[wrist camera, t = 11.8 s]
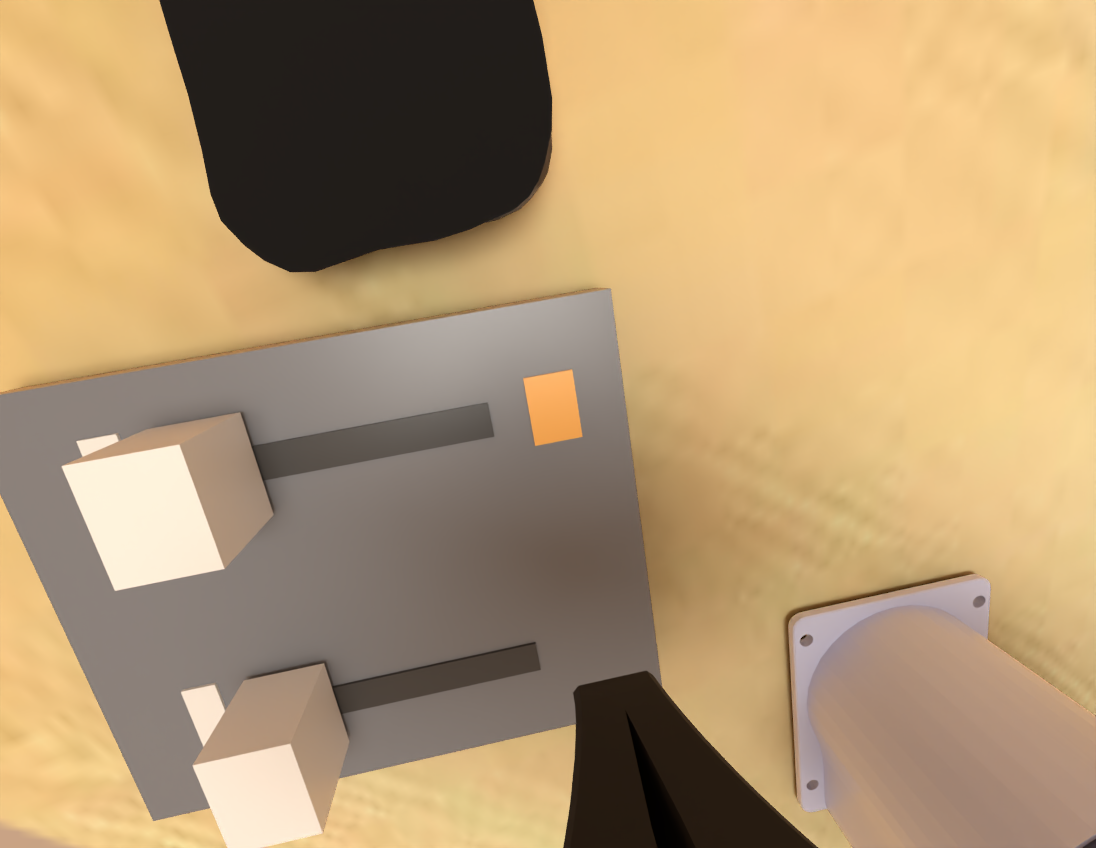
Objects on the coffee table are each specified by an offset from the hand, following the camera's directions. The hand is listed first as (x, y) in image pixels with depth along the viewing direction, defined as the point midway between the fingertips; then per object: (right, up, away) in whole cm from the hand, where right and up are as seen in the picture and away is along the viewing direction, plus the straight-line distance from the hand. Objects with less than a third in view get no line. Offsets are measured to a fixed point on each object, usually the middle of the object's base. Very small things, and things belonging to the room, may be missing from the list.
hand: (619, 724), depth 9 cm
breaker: (-9, -4, +7) cm, 12 cm away
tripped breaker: (-10, +4, +5) cm, 12 cm away
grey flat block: (-7, +1, +9) cm, 11 cm away
